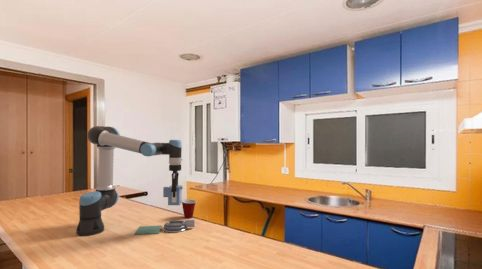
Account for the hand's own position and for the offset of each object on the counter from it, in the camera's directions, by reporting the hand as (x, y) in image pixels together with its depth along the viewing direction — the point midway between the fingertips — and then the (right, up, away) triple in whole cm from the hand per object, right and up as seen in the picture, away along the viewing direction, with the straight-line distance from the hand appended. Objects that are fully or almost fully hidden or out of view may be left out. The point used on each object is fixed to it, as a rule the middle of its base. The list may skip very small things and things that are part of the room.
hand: (174, 200), depth 173 cm
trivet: (-15, -18, -3) cm, 24 cm away
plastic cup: (+4, -18, +25) cm, 31 cm away
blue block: (-1, -2, 0) cm, 2 cm away
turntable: (+3, -16, 0) cm, 17 cm away
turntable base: (0, -18, 0) cm, 18 cm away
